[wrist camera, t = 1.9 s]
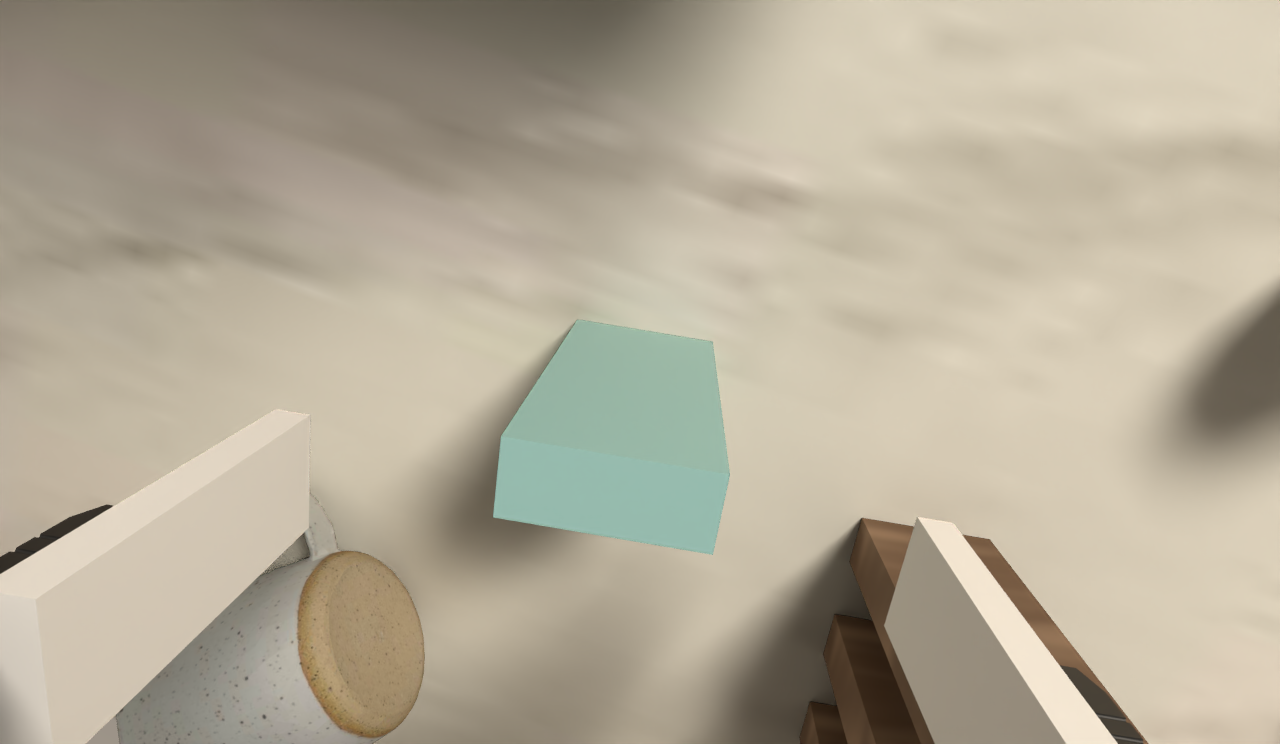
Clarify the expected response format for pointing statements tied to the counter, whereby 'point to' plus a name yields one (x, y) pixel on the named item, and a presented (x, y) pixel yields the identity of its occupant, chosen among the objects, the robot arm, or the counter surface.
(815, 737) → the domino
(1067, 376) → the counter surface
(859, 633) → the domino
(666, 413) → the tile
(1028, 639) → the robot arm
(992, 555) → the domino
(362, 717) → the ceramic mug
